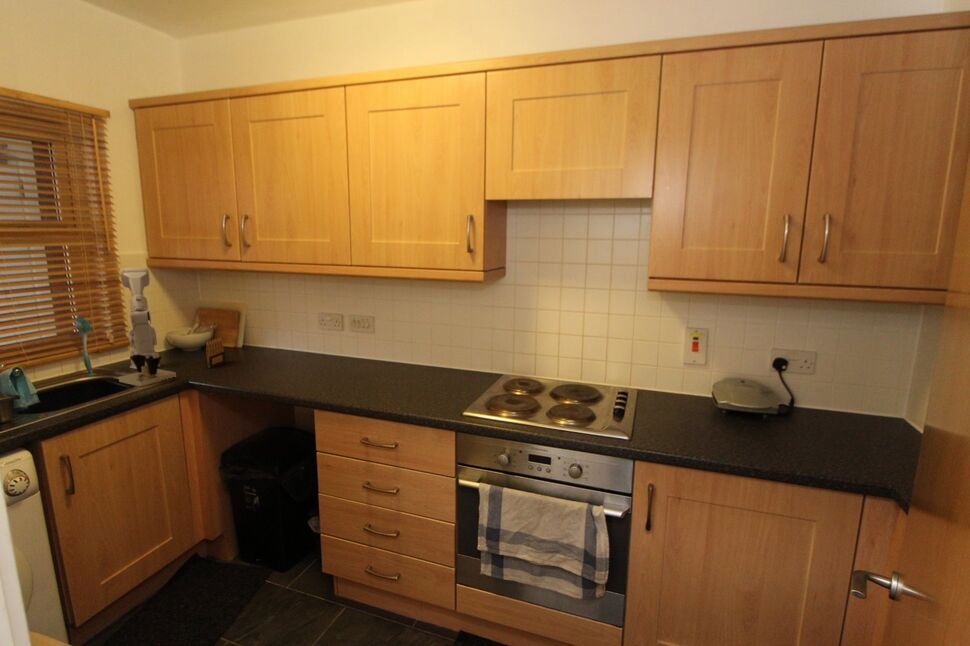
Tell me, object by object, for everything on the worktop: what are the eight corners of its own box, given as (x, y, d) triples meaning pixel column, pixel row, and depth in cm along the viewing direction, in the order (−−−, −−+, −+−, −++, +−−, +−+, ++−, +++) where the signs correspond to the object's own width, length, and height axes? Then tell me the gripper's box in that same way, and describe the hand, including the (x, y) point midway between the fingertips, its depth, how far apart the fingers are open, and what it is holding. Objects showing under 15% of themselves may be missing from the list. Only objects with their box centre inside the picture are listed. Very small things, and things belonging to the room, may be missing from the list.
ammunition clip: (222, 361, 230) (219, 336, 228) (226, 362, 230) (223, 336, 227) (206, 368, 219) (203, 341, 217) (210, 368, 219) (207, 341, 217)
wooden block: (142, 379, 202) (141, 366, 201) (150, 377, 205) (149, 364, 204) (147, 380, 201) (146, 367, 200) (155, 378, 204) (154, 365, 203)
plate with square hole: (119, 381, 199) (118, 377, 199) (154, 372, 212) (154, 368, 211) (141, 386, 193) (140, 381, 193) (176, 377, 206) (175, 372, 205)
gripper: (121, 340, 199) (126, 373, 201) (144, 344, 193) (148, 378, 195) (140, 337, 205) (144, 369, 208) (162, 340, 199) (166, 373, 202)
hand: (147, 373), depth 202 cm, fingers open, 7 cm apart
